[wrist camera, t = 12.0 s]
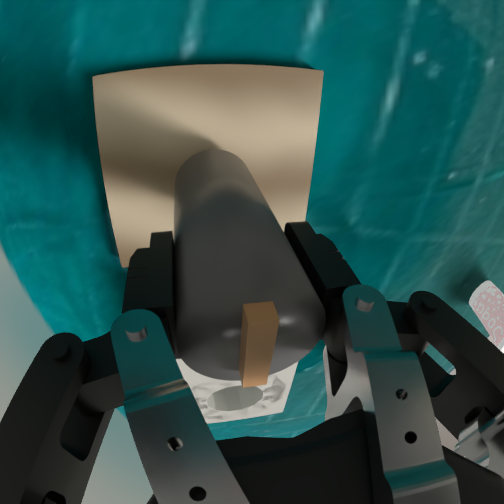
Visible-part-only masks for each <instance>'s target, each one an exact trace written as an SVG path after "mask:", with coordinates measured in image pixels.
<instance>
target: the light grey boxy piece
mask: <svg viewBox="0 0 504 504" xmlns="http://www.w3.org/2000/svg"><path fill="white" fill-rule="evenodd" d="M176 361H177V364H178V366H179V369H180V371H181V373H182V376H183V378H184V380H185V381H187V383H188V385H189V387H190V389H191V391H192V393H193V395H194V397H195V400H196V402H197V404H198V406H199V408H200V410H201V413H202V415H203V417H204V419H205V421H206V423H216V422H224V421H232V420H239V419H245V418H252V417H258V416H263V415H269V414H274V413H280V412H283V410H284V406H285V403H286V400H287V397H288V394H289V390H290V387H291V384H292V381H293V377H294V374H295V371H296V367H297V364H298V362H296V363H295V364H293V365H291V366H290V367H288V368H286V369H284V370H282V371H279V372H277V373H274V374H271V375H269V376H268V380H267V384H266V385H260V386H253V387H246V388H242V384H241V381H228V380H219V379H214V378H210V377H207V376H204V375H201V374H199V373H197V372H195V371H194V370H192V369H191V368H189V367H188V366H187V365H186V364H185V363H184V362H183V360H182V359H176Z"/></svg>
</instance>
